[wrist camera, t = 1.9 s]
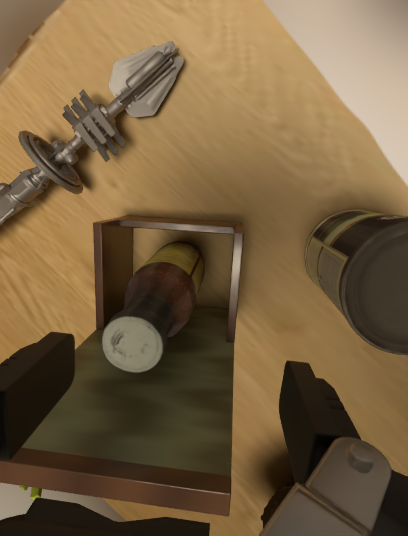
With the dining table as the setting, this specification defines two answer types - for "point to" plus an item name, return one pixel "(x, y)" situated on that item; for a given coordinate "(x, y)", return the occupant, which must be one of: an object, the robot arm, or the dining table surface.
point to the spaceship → (93, 126)
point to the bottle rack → (143, 399)
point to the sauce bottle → (154, 308)
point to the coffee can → (365, 273)
